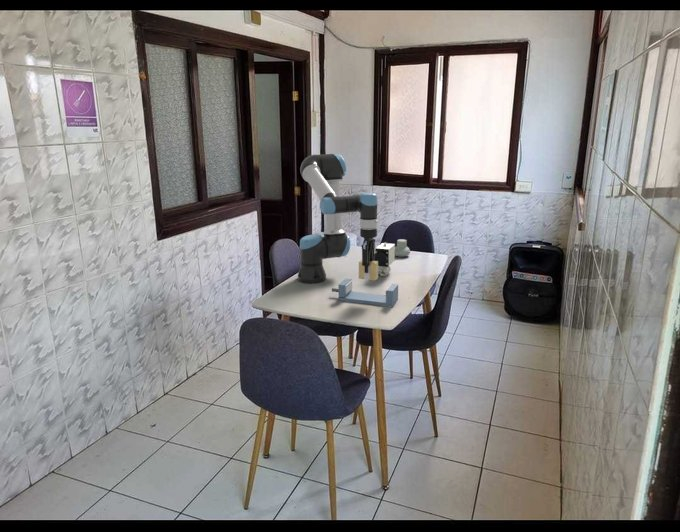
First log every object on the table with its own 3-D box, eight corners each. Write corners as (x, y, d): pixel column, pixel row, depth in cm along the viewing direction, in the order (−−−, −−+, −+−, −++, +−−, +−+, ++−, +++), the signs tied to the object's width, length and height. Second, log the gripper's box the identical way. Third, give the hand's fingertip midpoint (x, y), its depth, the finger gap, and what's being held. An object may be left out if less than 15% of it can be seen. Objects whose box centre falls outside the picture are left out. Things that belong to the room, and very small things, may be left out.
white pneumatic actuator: (380, 269, 276) (381, 238, 272) (395, 270, 274) (396, 239, 269) (371, 278, 260) (371, 246, 255) (386, 280, 257) (387, 247, 252)
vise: (338, 300, 229) (338, 285, 227) (345, 293, 238) (345, 278, 236) (392, 306, 220) (392, 291, 218) (398, 299, 229) (398, 284, 227)
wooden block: (358, 278, 225) (358, 262, 223) (361, 276, 229) (361, 259, 227) (375, 280, 223) (375, 263, 220) (377, 277, 226) (378, 261, 224)
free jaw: (328, 295, 230) (328, 283, 228) (336, 289, 239) (336, 277, 237) (345, 297, 227) (345, 285, 225) (352, 290, 236) (352, 279, 234)
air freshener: (411, 257, 300) (411, 241, 297) (398, 258, 298) (398, 242, 295) (404, 253, 310) (405, 238, 307) (392, 254, 308) (392, 238, 305)
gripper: (371, 232, 210) (370, 283, 217) (381, 224, 226) (381, 273, 232) (354, 231, 213) (354, 282, 219) (366, 223, 228) (366, 271, 235)
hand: (368, 277), depth 226 cm, fingers closed on wooden block, 4 cm apart
